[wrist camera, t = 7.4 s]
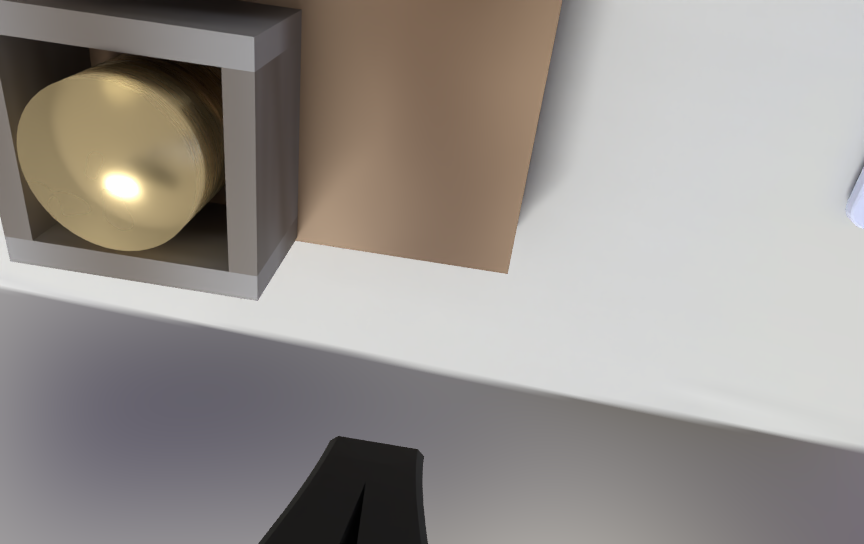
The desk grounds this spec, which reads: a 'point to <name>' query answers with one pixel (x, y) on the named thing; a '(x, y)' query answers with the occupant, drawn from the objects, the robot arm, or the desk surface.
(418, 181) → the knob panel
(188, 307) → the desk surface
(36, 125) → the knob
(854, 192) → the robot arm
